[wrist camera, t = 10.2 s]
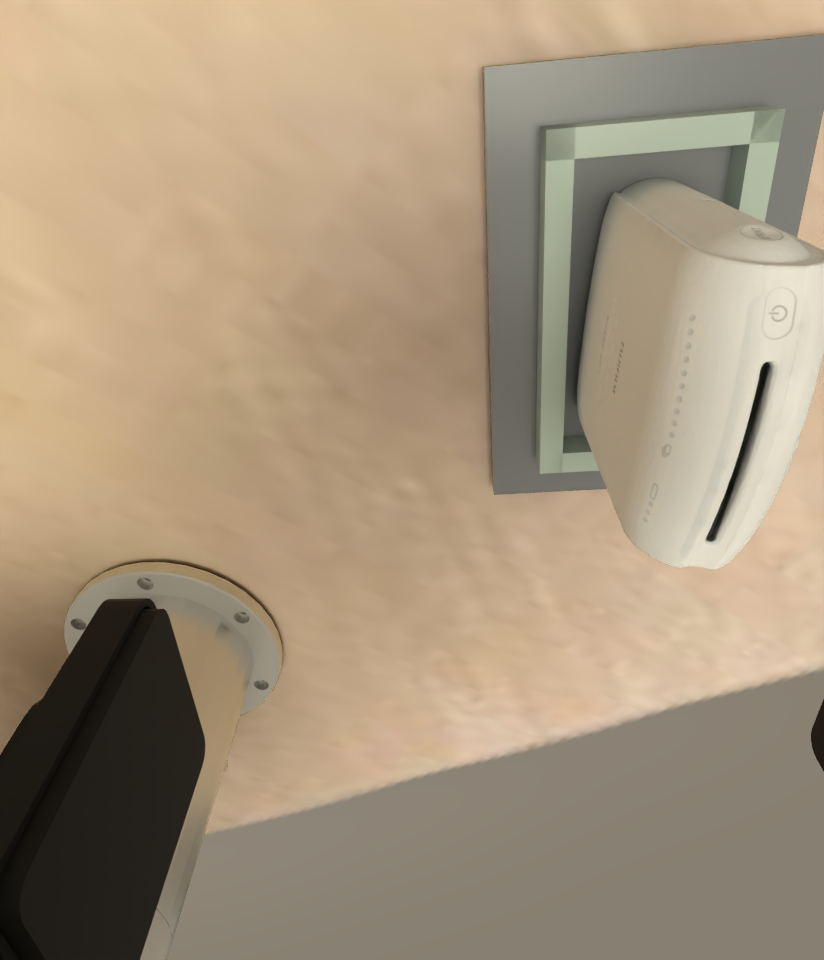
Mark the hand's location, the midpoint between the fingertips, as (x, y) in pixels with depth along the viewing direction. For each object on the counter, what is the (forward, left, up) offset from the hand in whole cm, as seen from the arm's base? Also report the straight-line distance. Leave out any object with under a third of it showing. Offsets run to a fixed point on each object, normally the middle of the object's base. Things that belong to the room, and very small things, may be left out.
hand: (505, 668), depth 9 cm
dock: (-2, -7, -22) cm, 24 cm away
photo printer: (-2, -7, -22) cm, 23 cm away
